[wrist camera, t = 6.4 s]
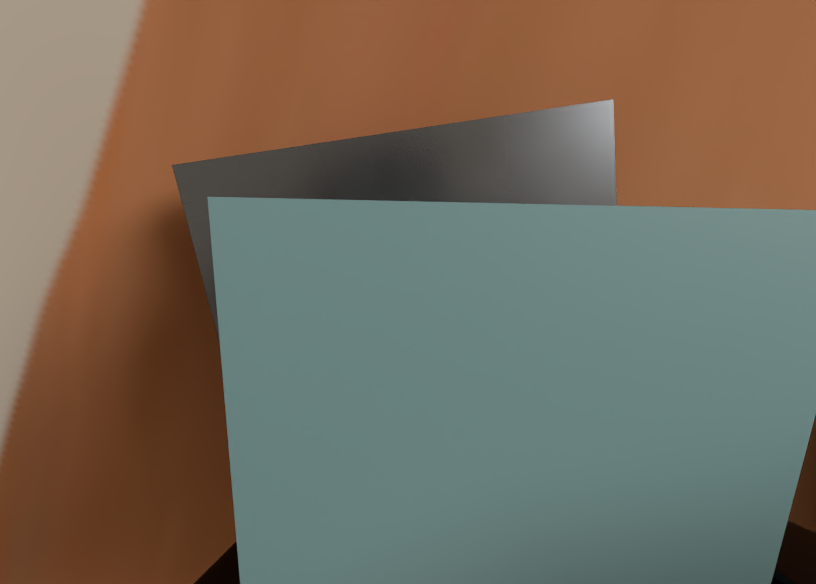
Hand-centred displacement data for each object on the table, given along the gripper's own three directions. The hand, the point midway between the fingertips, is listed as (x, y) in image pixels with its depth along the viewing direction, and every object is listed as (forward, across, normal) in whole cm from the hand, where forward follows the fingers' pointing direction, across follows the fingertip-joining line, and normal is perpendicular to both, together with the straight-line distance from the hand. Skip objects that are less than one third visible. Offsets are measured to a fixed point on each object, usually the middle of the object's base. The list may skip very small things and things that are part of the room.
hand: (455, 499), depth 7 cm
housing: (+1, 0, 0) cm, 1 cm away
